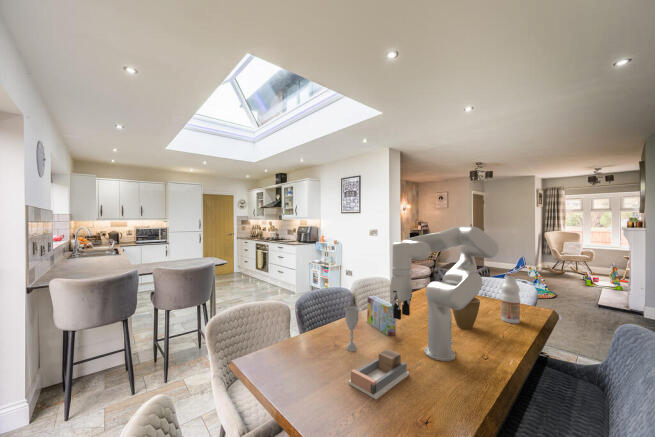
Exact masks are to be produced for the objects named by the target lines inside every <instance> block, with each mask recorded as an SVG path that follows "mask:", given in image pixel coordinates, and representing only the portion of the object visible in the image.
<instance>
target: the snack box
mask: <svg viewBox="0 0 655 437" xmlns="http://www.w3.org/2000/svg"><path fill="white" fill-rule="evenodd" d="M366 310H367V313H366V314H367V316H366V317H367V318H366V319H367V320H366V323H368V324H369V325H371V326H373V327H374V328H376V329H377V330H378V331H379V332H381V333H382V334H384V335H386V336H387V337H389V336H396V331H397V329H396V328H397V325H396V324H397V319H396V318H393V306H392V304H391V303H390V301H387V300H385V299H382V298H380V297H378V296H376V295H371V296H367V309H366Z"/></svg>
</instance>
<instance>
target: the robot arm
mask: <svg viewBox="0 0 655 437" xmlns="http://www.w3.org/2000/svg"><path fill="white" fill-rule="evenodd" d="M456 247H459V259H458V260H457V262H456V263H455V264H454V265H453V266H452V267H450V268H449V269H448V270H447V271H446V272H445V274H443V277H442V278H443V282H442V281H437V280H434V281H431V282H429V283H428V284H427V286H426V288H425V297H426V302H427V310H428V312H427V314H428V315H427V316H428V317H427V319H428V320H427V346H425V347H424V350H423V351H424V352H423V353H424V355H426V356H427V357H429V358H431V359H432V360H436V361H441V362H450V361H453V360H455V359H456V353H455V351H453V350H452V345H453V344H454V342H453V340H452V327H453V326H452V321H453V320H452V311H451V310H452V309H455V310H460V309H463V308H464V307H465V306H466V305H467V304H468V303H469V302H470V301H471V300H472V299H473V298H474V297H475V298H476V296H477V295H478V294H479V293H480V292H481V290H482V287H483V278H482V276H481V275H480V274H479V273H478V272H477V268H478V267H477V263H476V259H475V257H476V258H484V259H493V258H495V257H496V256H498V254H499V246H498V243H497V242H496V241H495V240H494V239H493V238H492V237H491V236H490V235H489V234H487V233H486V232H485V231H483V230H482V229H481V228H479V227H476V226H469V225H468V226H467V225H463V226H461V225H459V226H453V227H451V228H448V229H445V230H441V231H438V232H434V233H433V232H432V233H427V234H423V235H417V236H414V237H413V236H412V237H409V238H406V239H404V240H402V241H395V242H393V243H392V259H391V260H392V266H391V267H392V269H391V270H392V274H391V281H390V289H389V303H391V304H392V306H393V318H396V320H400V321H401V320H402V315H404V316H408V317H409V316H410V315H411V314H410V312H411V311H410V310H411V309H410V306H411V301H412V297H413V284H412V262H413V261H412V260H418V261H421V260H427V259H428V258H429V257H430V256H431V254H432V252H433V253H435V252H445V251H448V250H451V249H453V248H456Z"/></svg>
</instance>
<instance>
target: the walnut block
mask: <svg viewBox="0 0 655 437" xmlns="http://www.w3.org/2000/svg"><path fill="white" fill-rule="evenodd" d="M378 358H379V368H378V369H379V370H381V371H383V372H385V373H388V372H389V371H391V370H392V369H394V368H395V367H397V366H398V365H400V364H401V363H402V360H401V353H399V352H396V351H394V350H392V349H389V348H386V349H385V350H382V351H381V352H379V353H378Z"/></svg>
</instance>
